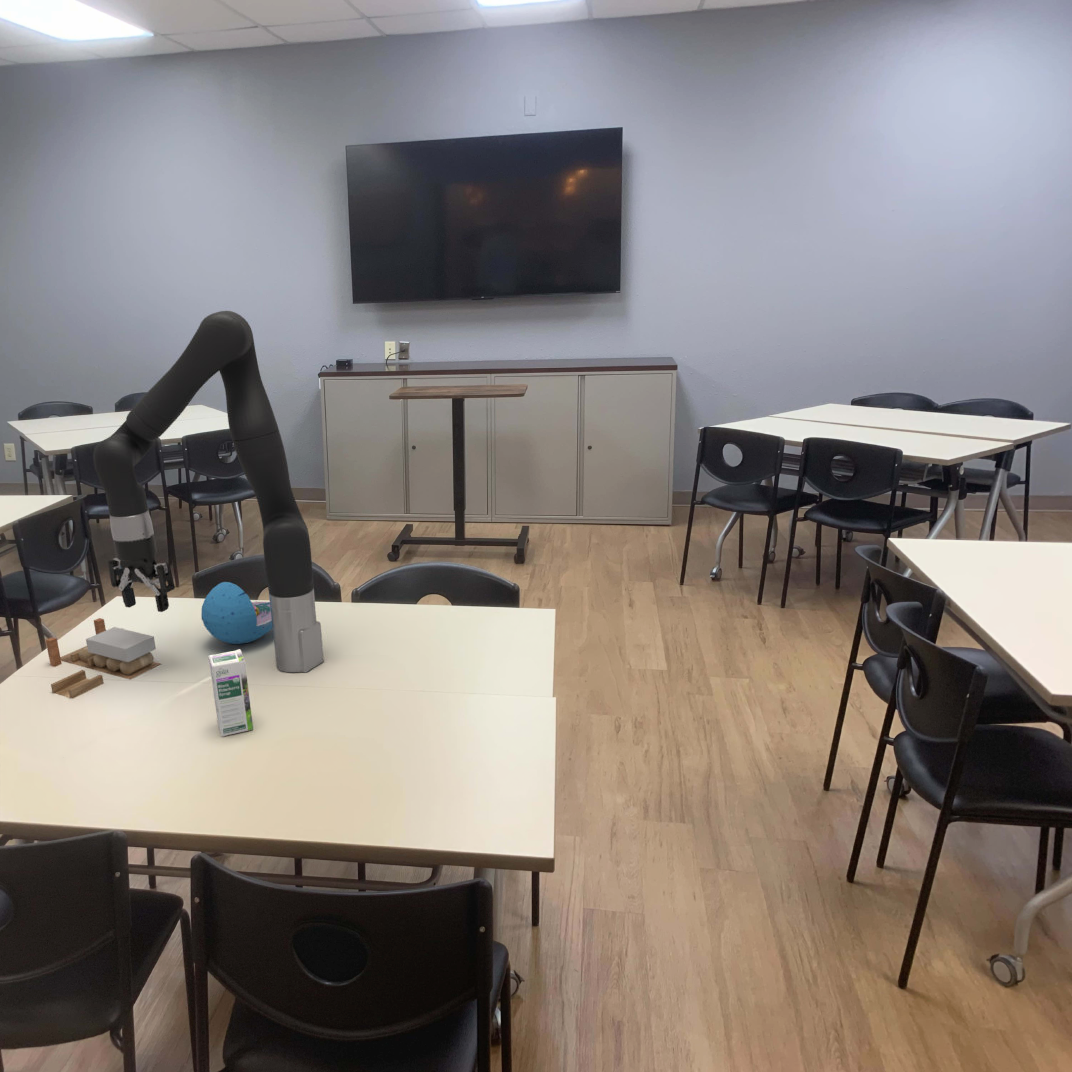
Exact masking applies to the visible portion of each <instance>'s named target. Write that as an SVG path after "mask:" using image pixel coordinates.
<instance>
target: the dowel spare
mask: <svg viewBox="0 0 1072 1072" xmlns="http://www.w3.org/2000/svg"><path fill="white" fill-rule="evenodd" d="M95 655H97V654H94V653H90V652H88V648H87V647H86V648H84V649H82V650H80V651H79V657H80V659H81V660H82V661H83V662H85V663H87V659H88V658H90V657H92V656H95Z"/></svg>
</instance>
